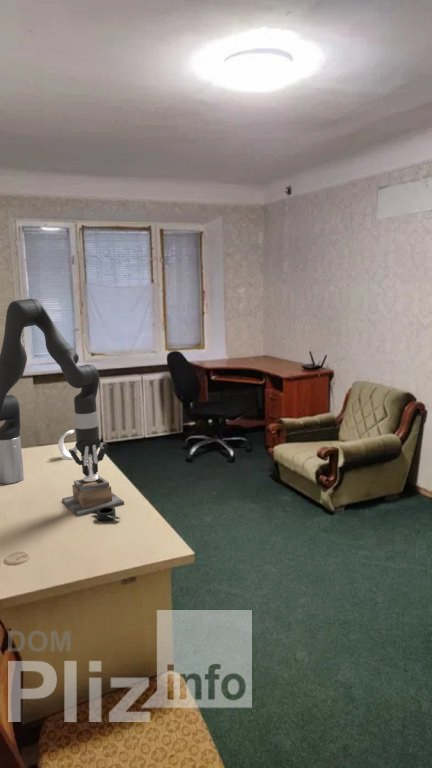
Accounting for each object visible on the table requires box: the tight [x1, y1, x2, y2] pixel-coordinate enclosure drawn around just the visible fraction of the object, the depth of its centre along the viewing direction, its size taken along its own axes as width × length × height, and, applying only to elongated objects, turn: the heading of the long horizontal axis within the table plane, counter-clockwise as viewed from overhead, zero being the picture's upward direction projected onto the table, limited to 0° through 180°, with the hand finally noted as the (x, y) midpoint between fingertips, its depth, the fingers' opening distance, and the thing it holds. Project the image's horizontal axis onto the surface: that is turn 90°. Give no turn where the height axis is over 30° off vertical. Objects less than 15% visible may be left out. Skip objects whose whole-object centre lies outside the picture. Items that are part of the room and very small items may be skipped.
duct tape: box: [92, 507, 121, 523], centre depth 170 cm, size 8×10×3 cm
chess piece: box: [83, 454, 99, 481], centre depth 181 cm, size 5×5×10 cm
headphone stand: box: [57, 429, 75, 460], centre depth 234 cm, size 5×6×12 cm
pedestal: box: [61, 475, 125, 517], centre depth 183 cm, size 16×16×8 cm
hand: (90, 474), depth 182 cm, fingers closed on chess piece
